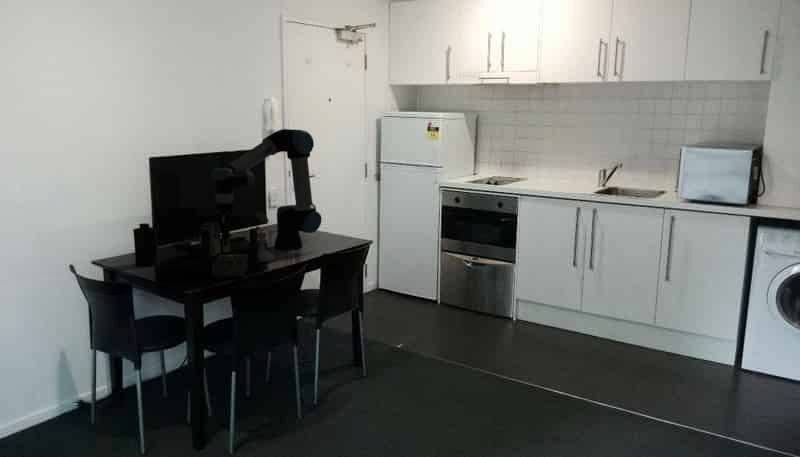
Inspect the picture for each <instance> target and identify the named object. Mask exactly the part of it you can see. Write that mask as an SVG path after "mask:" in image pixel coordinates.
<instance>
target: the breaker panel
mask: <svg viewBox="0 0 800 457" xmlns="http://www.w3.org/2000/svg"><path fill="white" fill-rule="evenodd" d="M228 255H229V254H217V257H216V259H215V260H214V262H213V264H212V265H211V278H212V279H218V278H219V279H221V278H224V279H225V278H227V277H230V278H244V277H245V276H246V275H245V274H246V272H247V269H248V267H249V254H232V255H233V257H234V260H233V261H227V256H228Z"/></svg>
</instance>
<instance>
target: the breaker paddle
mask: <svg viewBox="0 0 800 457" xmlns="http://www.w3.org/2000/svg"><path fill="white" fill-rule="evenodd" d="M227 255H228V256H227V261H233V260H234V257H233V255H234V254H227Z"/></svg>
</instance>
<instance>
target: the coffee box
mask: <svg viewBox="0 0 800 457" xmlns="http://www.w3.org/2000/svg"><path fill="white" fill-rule="evenodd" d="M220 227H221V224H220V222H214V221H208V222H205V223H203V224H201V225H199V230H200V232H199V233H200V235H201V229H209V242H210V257H215V256H216V255H219V254H220V253H222V251H221V250H222V249H221V246H222V245H221V230H220ZM200 246H201V247H200V248H201V249H200V250H201V254H202V245H201V244H200Z"/></svg>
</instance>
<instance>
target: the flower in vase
mask: <svg viewBox="0 0 800 457" xmlns="http://www.w3.org/2000/svg"><path fill="white" fill-rule="evenodd" d="M255 215H256V218H257V219H258V220H259V221H258V226H257V225H256V226H255V228H256V229H258V231H259V232H258V239H259V240H258V242H259V247H258V263H268V262H271V261H273V260H274V259H275V256H274V255H273V254H272V253H271V252H270V251H268V250H267V249H266V247H265V240H266V237H267V235H268V233H265V232H263V231H264V230H265V228H263V229H260V224H261V223H263V224H264V225H268V224H269V219H268V215H267V214H265V213H263V211H260V210H258V211H256V212H255Z"/></svg>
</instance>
